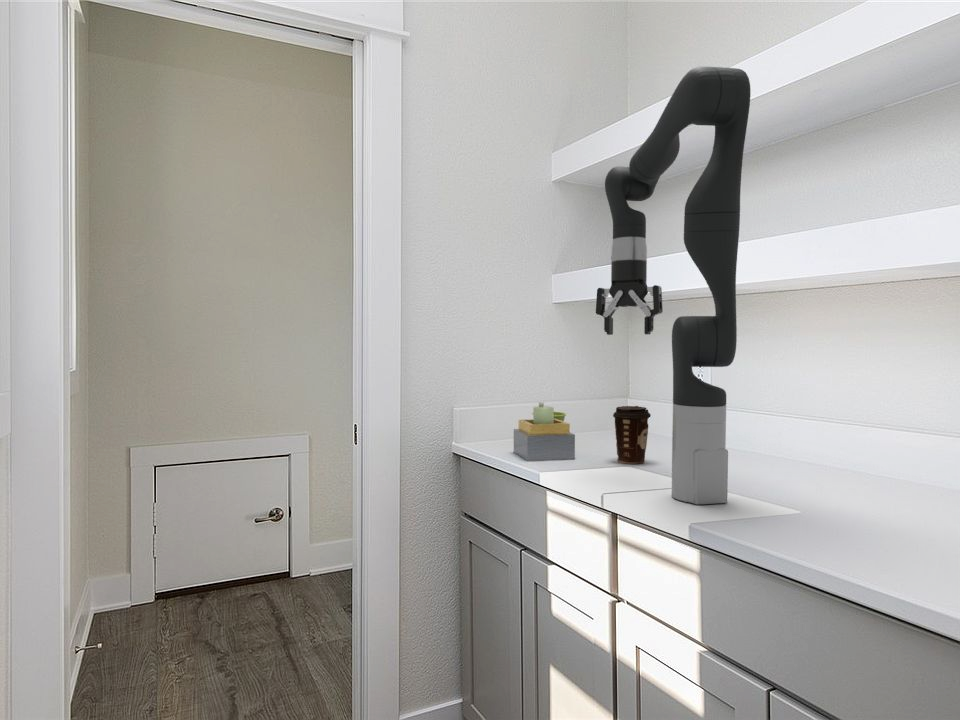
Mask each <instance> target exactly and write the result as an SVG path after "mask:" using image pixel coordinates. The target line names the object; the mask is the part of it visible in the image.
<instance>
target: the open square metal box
mask: <svg viewBox="0 0 960 720" xmlns="http://www.w3.org/2000/svg"><path fill="white" fill-rule="evenodd" d="M570 425H571V424H570V423H569V422H565V421H561V420H558V419H554V424H533V418H532V419H528V418H527V419H518V428H514V429H513V453H514V454H515V455H518V457H520V458H522V459H523V460H525V461H527V462H534V461H556V460H557V461H561V460H575V459H576V444H575V443H576V434H575V433H573V432H570V429H571V428H570Z"/></svg>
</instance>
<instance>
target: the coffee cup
mask: <svg viewBox="0 0 960 720" xmlns="http://www.w3.org/2000/svg"><path fill="white" fill-rule="evenodd" d="M612 416H613V418H614V427H615V440H616V444H615V445H616V455H617V463H619V464H620V463H621V464H630V465H631V464H633V465H634V464H635V465H636V464H642V463H644V462H645V461H646V450H647V445H648V444H647V443H648V435H649V422H648V420H649V418H651V416H652V415H651V413H650V412H649V410H648V409H647V407H645V406H638V405H634V406H633V405H623V406H617V407H616V408H615V412H613V415H612Z"/></svg>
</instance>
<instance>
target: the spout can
mask: <svg viewBox="0 0 960 720" xmlns="http://www.w3.org/2000/svg"><path fill="white" fill-rule="evenodd" d="M532 409H533V411H532V413H533V414H532V415H533V418H532V419H533V424H554V412H555V411H554V407H553V406H545V403H544V400H539V401H538V406H534V407H533V408H532Z"/></svg>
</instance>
